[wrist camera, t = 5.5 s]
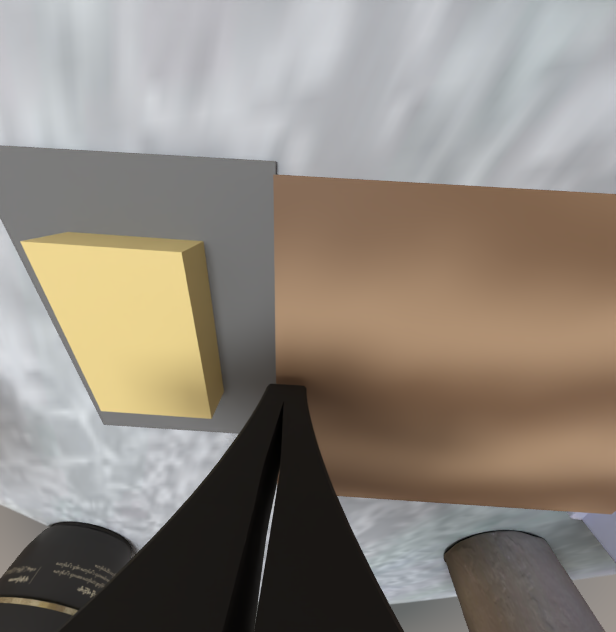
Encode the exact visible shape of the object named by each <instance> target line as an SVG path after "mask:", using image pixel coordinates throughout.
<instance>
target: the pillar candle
mask: <svg viewBox="0 0 616 632" xmlns="http://www.w3.org/2000/svg"><path fill="white" fill-rule="evenodd" d="M444 560H445V562H446V563H447V566H448V569H449V573H450V576H451V579H452V582H453V584H454V587H455V591H456V594H457V596H458V599H459V602H460V605H461V608H462V611H463V615H464V618H465V621H466V623H467V626H468V629H469V632H605V631H604V629H603V627H602V626H601V625H600V623H599V621H598V620H597V618H596V617H595V615H594V614H593V612H592V611H591V609H590V607H589V606H588V604H587V603H586V601H585V600H584V598H583V597H582V595H581V594H580V592H579V591H578V589H577V588H576V586H575V585H574V583H573V582H572V580H571V578H570V577H569V575H568V574H567V573H566V571H565V569H564V568H563V566H562V565H561V563H560V562H559V560H558V559H557V557H556V556H555V554H554V553H553V551H552V550H551V548H550V546H549V545H548V544H547V542H546V541H545V540H544V539H542V538H540V537H535V536H531V535H528V534H525V533H522V532H518V531H495V532H489V533H482V534H479V535H475V536H472V537H471V538H468V539H465V540H463V541H460V542H459V543H457V544H456V545H454V546H453V547H452V548H451V549H450V550H449V551H447V552H446V553H445V555H444Z"/></svg>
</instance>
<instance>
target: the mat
mask: <svg viewBox="0 0 616 632" xmlns="http://www.w3.org/2000/svg"><path fill="white" fill-rule="evenodd" d="M273 175H277V162H276V161H261V160H244V159H226V158H209V157H191V156H174V155H156V154H139V153H122V152H104V151H87V150H69V149H52V148H34V147H17V146H0V218H1V220H2V222H3V224H4V226H5V228H6V230H7V232H8V234H9V236H10V238H11V240H12V242H13V244H14V246H15V248H16V250H17V252H18V254H19V256H20V258H21V260H22V262H23V264H24V266H25V268H26V270H27V272H28V274H29V276H30V278H31V280H32V282H33V284H34V286H35V288H36V290H37V292H38V294H39V296H40V298H41V300H42V302H43V304H44V306H45V308H46V310H47V312H48V314H49V316H50V318H51V320H52V322H53V324H54V326H55V328H56V330H57V332H58V334H59V336H60V338H61V340H62V342H63V344H64V346H65V348H66V350H67V352H68V354H69V356H70V358H71V360H72V362H73V364H74V366H75V368H76V370H77V372H78V374H79V376H80V378H81V380H82V382H83V384H84V386H85V388H86V390H87V392H88V394H89V396H90V398H91V400H92V402H93V404H94V406H95V408H96V410H97V412H98V414H99V416H100V418H101V420H102V422H103V424H104V425H117V426H132V427H147V428H162V429H177V430H193V431H208V432H223V433H238V434H239V433H240V432H241V430H242V428H243V427H244V425H245V424H246V422H247V421H248V419H249V418H250V416H251V415H252V413H253V411H254V410H255V408H256V407H257V405H258V403H259V401H260V400H261V398H262V396H263V394H264V392H265V390H266V388H267V386H268V385H269V384H276V343H275V267H274V191H273ZM65 232H76V233H91V234H105V235H120V236H135V237H149V238H164V239H179V240H193V241H203V242H204V249H205V257H206V264H207V271H208V279H209V286H210V293H211V301H212V308H213V315H214V323H215V330H216V337H217V344H218V352H219V359H220V366H221V374H222V381H223V388H224V393H223V395H222V397H221V399H220V401H219V404H218V406H217V408H216V410H215V413H214V415H213V417H212V419H206V418H192V417H177V416H163V415H149V414H135V413H121V412H107V411H101V410H100V408H99V405H98V403H97V401H96V399H95V397H94V395H93V393H92V391H91V389H90V387H89V385H88V382H87V380H86V378H85V376H84V374H83V372H82V370H81V368H80V366H79V364H78V362H77V359H76V357H75V355H74V353H73V351H72V349H71V347H70V345H69V343H68V341H67V339H66V336H65V334H64V332H63V330H62V328H61V326H60V324H59V322H58V320H57V318H56V316H55V313H54V311H53V309H52V307H51V305H50V303H49V301H48V299H47V297H46V295H45V292H44V290H43V288H42V286H41V284H40V282H39V280H38V278H37V276H36V274H35V272H34V269H33V267H32V265H31V263H30V261H29V259H28V257H27V255H26V253H25V251H24V249H23V246H22V244H21V242H20V241H25V240H30V239H35V238H40V237H45V236H50V235H55V234H60V233H65Z"/></svg>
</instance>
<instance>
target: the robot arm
mask: <svg viewBox="0 0 616 632" xmlns="http://www.w3.org/2000/svg"><path fill="white" fill-rule="evenodd" d="M279 470H280V473H279ZM278 475H279V480H278ZM277 480H278V486H277V493H276V499H275V506H274V512H273V519H272V525H271V531H270V538H269V544H268V550H267V556H266V562H265V569H264V575H263V581H262V587H261V593H260V599H259V605H258V611H257V604H258V596H259V588H260V580H261V572H262V565H263V557H264V550H265V542H266V536H267V530H268V524H269V519H270V514H271V509H272V504H273V499H274V495H275V490H276V485H277ZM567 514H568V515H569V516H570V518H572V519H580V520H583V522H584V523H585V524H586V526H587V527H588V528H589V529H590V531H591V532H592V533H593V534H594V536H595V537H596V538H597V540H598V541H599V542H600V543H601V545H602V546H603V547H604V549H605V550H606V551H607V552H608V554H609V555H610V556H611V558H612V559H613V560H614V561H615V563H616V511H615V512H614V513H613V514H598V513H583V512H569V511H567ZM256 611H257V617H256ZM255 619H256V623H255ZM254 627H255V629H254ZM56 632H404V631H403V629H402V627H401V626H400V624H399V622H398V620H397V618H396V616H395V614H394V612H393V610H392V609H391V607H390V605H389V603H388V601H387V599H386V597H385V595H384V593H383V592H382V590H381V588H380V586H379V584H378V582H377V580H376V578H375V576H374V574H373V572H372V570H371V568H370V566H369V564H368V562H367V560H366V558H365V556H364V554H363V552H362V550H361V548H360V546H359V544H358V542H357V539H356V537H355V535H354V533H353V531H352V529H351V527H350V525H349V522H348V520H347V518H346V516H345V513H344V511H343V509H342V507H341V504H340V502H339V500H338V497H337V495H336V492H335V490H334V488H333V485H332V482H331V480H330V477H329V475H328V472H327V469H326V466H325V464H324V461H323V458H322V455H321V452H320V449H319V446H318V443H317V439H316V436H315V432H314V429H313V425H312V421H311V417H310V413H309V408H308V402H307V388H306V387H305V386H301V385H286V384H269V385H268V386H267V388H266V390H265V392H264V394H263V396H262V398H261V400H260V401H259V403H258V405H257V407H256V408H255V410H254V411H253V413H252V415H251V416H250V418H249V419H248V421H247V422H246V424H245V425H244V427H243V428H242V430H241V432H240V433H239V434H238V436H237V437H236V439H235V440H234V442H233V443H232V444H231V446H230V447H229V448H228V450H227V451H226V452H225V454H224V455H223V456H222V458H221V459H220V461H219V462H218V463H217V464H216V466H215V467H214V468H213V469H212V471H211V472H210V473H209V474H208V476H207V477H206V478H205V479H204V481H203V482H202V483H201V484H200V485H199V486H198V488H197V489H196V490H195V491H194V492H193V494H192V495H191V496H190V497H189V498H188V499H187V500H186V502H185V503H184V504H183V505H182V506H181V507H180V508H179V509H178V510H177V512H176V513H175V514H174V515H173V516H172V517H171V518H170V519H169V520H168V522H167V523H166V524H165V525H164V526H163V527H162V528H161V529H160V530H159V531H158V532H157V533H156V534H155V535H154V536H153V538H152V539H151V540H150V541H149V542H148V543H147V544H146V545H145V546H144V547H143V548H142V549H141V550H140V551H139V552H138V553H137V554H136V555H135V556H134V557H133V558H132V559H131V560H130V561H129V562H128V563H127V564H126V565H125V566H124V567H123V568H122V569H121V570H120V571H119V572H118V573H117V574H116V575H115V576H114V577H113V578H112V579H111V580H110V581H109V582H108V583H107V584H106V585H105V586H104V587H103V588H102V589H101V590H100V591H98V592H97V593H96V594H95V595H94V596H93V597H92V598H91V599H90V600H89V601H88V602H87V603H86V604H85V605H84V606H83V607H81V608H80V609H79V610H78V611H77V612H76V613H75V614H74V615H73V616H72V617H71V618H70V619H69V620H67V621H66V622H65V623H64V624H63V625H62V626H61V627H60V628H59V629H58V630H57V631H56Z"/></svg>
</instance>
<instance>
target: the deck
mask: <svg viewBox="0 0 616 632" xmlns="http://www.w3.org/2000/svg"><path fill="white" fill-rule="evenodd" d="M273 191H274V267H275V343H276V384H286V385H301V386H305V387H306V388H307V402H308V408H309V413H310V417H311V421H312V425H313V429H314V432H315V436H316V439H317V443H318V446H319V449H320V452H321V455H322V458H323V461H324V464H325V466H326V469H327V472H328V475H329V477H330V480H331V482H332V485H333V488H334V490H335V492H336V495H337V496H346V497H361V498H376V499H391V500H406V501H420V502H435V503H450V504H465V505H480V506H495V507H509V508H524V509H539V510H554V511H569V512H583V513H598V514H613V513H614V512H615V511H616V194H603V193H586V192H568V191H551V190H534V189H516V188H499V187H482V186H464V185H447V184H430V183H412V182H395V181H378V180H360V179H343V178H325V177H308V176H291V175H273ZM279 473H280V470H279ZM278 480H279V475H278ZM278 480H277V486H278Z"/></svg>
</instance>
